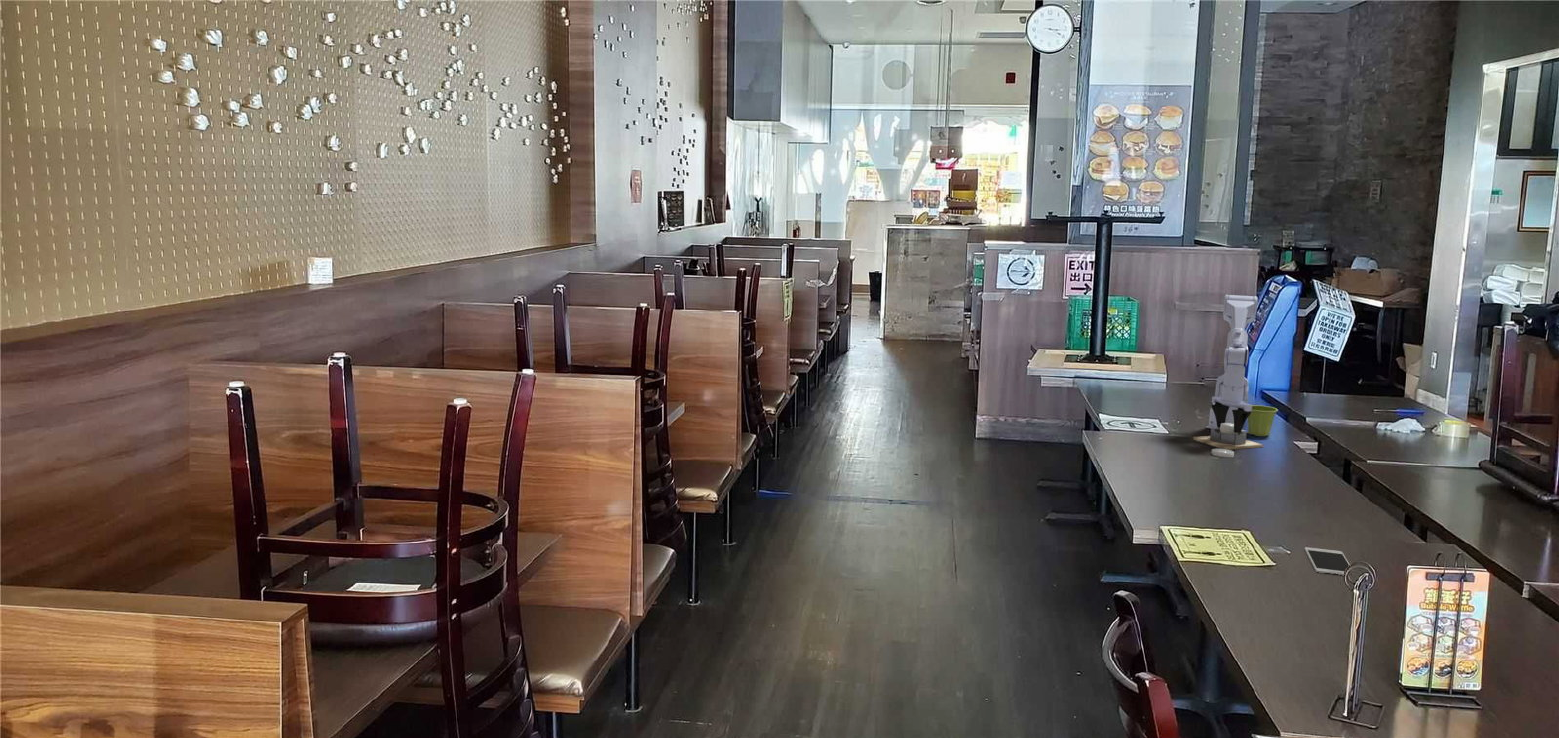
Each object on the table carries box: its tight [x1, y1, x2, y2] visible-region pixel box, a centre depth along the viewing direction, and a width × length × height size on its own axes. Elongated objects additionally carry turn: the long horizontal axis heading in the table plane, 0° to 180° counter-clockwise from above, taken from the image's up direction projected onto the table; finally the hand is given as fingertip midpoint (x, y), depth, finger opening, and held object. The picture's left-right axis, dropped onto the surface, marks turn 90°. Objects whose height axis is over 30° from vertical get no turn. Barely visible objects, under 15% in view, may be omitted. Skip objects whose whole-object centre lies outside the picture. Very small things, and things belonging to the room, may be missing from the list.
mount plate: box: [1192, 435, 1264, 451], centre depth 323 cm, size 14×14×1 cm
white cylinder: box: [1220, 423, 1238, 434], centre depth 322 cm, size 5×5×5 cm
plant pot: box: [1247, 404, 1279, 437], centre depth 336 cm, size 9×9×9 cm
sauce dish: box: [1211, 448, 1235, 459], centre depth 307 cm, size 6×6×2 cm
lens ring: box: [1209, 428, 1248, 445], centre depth 322 cm, size 10×10×3 cm
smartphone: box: [1304, 546, 1351, 577], centre depth 215 cm, size 7×15×1 cm, turn 162°
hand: (1228, 430), depth 322 cm, fingers open, 6 cm apart
